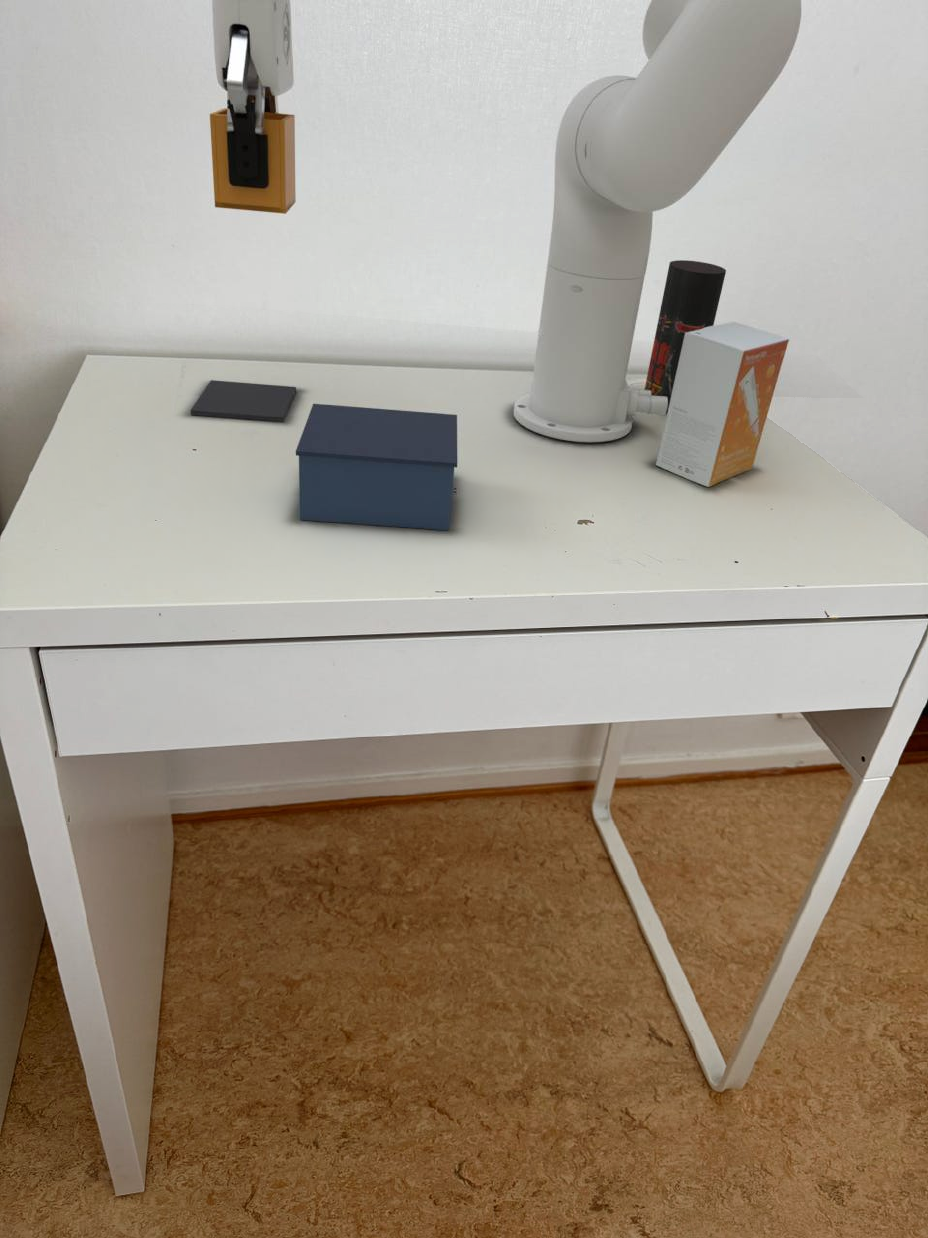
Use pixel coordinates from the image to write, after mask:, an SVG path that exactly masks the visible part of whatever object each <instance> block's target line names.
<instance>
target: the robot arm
mask: <svg viewBox="0 0 928 1238" xmlns="http://www.w3.org/2000/svg"><path fill="white" fill-rule="evenodd" d="M211 4H212V5H211V7H212V8H211V9H212V29H213V50H214V51H213V52H214V63H215V64H214V65H215V73H216V79H217V83H218V85H219V86H220V87H221V88H222V89H223V90H224V91H227V93H226V94H227V95H226V97H227V99H226V108H227V130H228V131H227V150H228V171H229V182H230V184H231V185H232V186H240V187H250V188H261V189H265V188H266V187H267V186H268V185H269V171H268V135H266V134H263V132H264V112H270V113H279V101H278V96H282V95H283V94H286V93H288V92H289V91H290V90H291V89H292V88H293V87H294V79H295V78H294V61H293V60H294V59H293V57H294V56H293V37H292V35H293V33H292V12H291V11H292V10H291V9H292V8H291V0H211ZM801 20H802V0H651V1H650V3H649V5H648V7H647V9H646V11H645V15H644V20H643V26H642V45H643V50H644V53H645V56H646V58H647V59H648V61H647V62H646V63H645V65H644V67H643V68H642V69H641V71H640V72H639V73H638V75H637V77H633V76H628V75H619V74H617V75H607V76H604V77H601V78H598V79H596V80H593V81H592V82H590V83H588V84H586V85H585V86H584V87H583V88H581V89H580V90H579V91H578V92H577V94H575V95H574V97H573V98H572V99H571V101H570V102H569V104H568V106H567V107H566V109H565V110H564V113H563V115H562V117H561V120H560V123H559V127H558V132H557V136H556V143H555V152H554V153H555V154H554V155H555V156H554V189H553V192H554V194H553V209H552V222H551V223H552V224H551V232H550V241H549V248H548V249H549V250H548V256H547V265H546V271H545V279H544V286H543V287H544V288H543V293H542V294H543V295H542V303H541V309H540V318H539V326H538V333H537V341H536V350H535V358H534V365H533V373H532V380H531V381H532V382H531V387H530V392H529V393H527V394H523V395H521V396H519V397H518V398H517V399H516V400H515V401H514V405H513V417H514V418H515V420H516V421H517V422H518V424H520V425H521V426H523V427H524V428H526V429H528V430H530V431H532V432H533V433H537V434H540V435H542V436H545V437H548V438H553V439H555V440H556V439H557V440H561V441H567V442H577V443H604V442H612V441H615V440H619V439H621V438H624V437H626V435H628V434H629V433H630V432H631V430H632V428H633V421H634V418H633V417H634V416H635V415H636V414H637V413H643V414H647V415H655V416H665V415H667V412H666V411H667V406H668V398H667V397H664V396H652V395H651V391H650V390H644V389H631V388H630V386H629V384H628V382H627V380H626V378H627V373H628V367H629V363H630V357H631V352H632V347H633V340H634V335H635V330H636V324H637V320H638V313H639V309H640V303H641V298H642V294H643V293H642V292H643V287H644V281H645V276H646V273H647V267H648V263H649V256H650V249H651V242H652V232H653V231H652V230H653V216H654V215H653V213H654V212H657V211H660V210H664V209H666V208H669V207H670V206H672V205H674V204H675V203H677V202H678V201H680V200H681V199H682V198H684V197H685V196H686V195H687V194H688V193H689V192H690V191H692V189H693V188H694V187H695V186H696V185H697V184H698V183H699V182H700V180H702V179H703V177H704V176H705V175H706V173H707V172H708V171H709V170H710V168H711V167H712V166H713V164H714V163H715V162H716V160H717V159H718V158H719V157H720V156H721V154H722V153H723V151H724V150H725V149H726V148H727V146H728V145H729V144H730V142H731V141H732V140H733V138H734V137H735V136H736V135H737V133H738V132H739V131H740V129H741V128H742V127H743V125H744V124H745V123H746V121H747V120H748V119H749V117H750V116H751V114H752V113H753V112H754V111H755V109H756V108H757V107H758V105H759V104H760V103H761V101H762V100H763V99H764V97H766V95H767V93H768V92H769V91H770V89H771V88H772V86H773V85H774V84H775V82H776V81H777V80H778V78H779V76H780V75H781V74H782V72H783V70H784V68H785V67H786V65H787V63H788V61H789V59H790V56H791V55H792V52H793V49H794V47H795V44H796V41H797V39H798V34H799V31H800V26H801V22H802V21H801ZM254 111H255V112H254Z"/></svg>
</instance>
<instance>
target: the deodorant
mask: <svg viewBox="0 0 928 1238" xmlns="http://www.w3.org/2000/svg"><path fill="white" fill-rule="evenodd" d="M726 275H727V270H726V269H725V267H722V266H720V265H717V264H714V263H713V264H712V263H710V262H709V263H708V262H704V261H697V260H688V259H687V260H686V259H685V260H682V259H681V260H680V259H679V260H671V261H670V262H669V265H668V269H667V274H666V280H665V284H664V290H663V294H662V300H661V304H660V309H659V316H658V320H657V324H656V329H655V335H654V338H653V344H652V345H653V346H652V350H651V353H650V354H651V355H650V359H649V364H648V370H647V375H646V380H645V385H644V389H643V390H650V391H651V395H652V396H664V397H667V398H668V406H667V411H666V413H668V408H669V404H670V399H671V394H672V390H673V385H674V381H675V376H676V372H677V367H678V363H679V358H680V354H681V349H682V345H683V340H684V336H685V333H686V332H691V331H695V330H700V329H703V328H705V327H709V326H715V320H716V317H717V311H718V308H719V303H720V299H721V295H722V290H723V286H724V281H725V278H726Z"/></svg>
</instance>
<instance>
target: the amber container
mask: <svg viewBox="0 0 928 1238" xmlns="http://www.w3.org/2000/svg"><path fill="white" fill-rule="evenodd" d="M254 112H255V111H254ZM295 121H296V120H295V114H289V113H270V112H264V132H263V134H266V135H268V171H269V185H268V186H267V187H266V188H265V189H261V188H250V187H240V186H232V185H231V184H230V182H229V171H228V150H227V131H228V130H227V107H224V108H221V109H219V110H217V111H214V112H211V113H209V125H210V129H209V130H210V146H211V161H212V162H211V164H212V181H213V196H214V197H213V199H214V208H218V209H229V210H241V211H251V212H263V213H273V214H282V215H283V214H284V215H285V214H287V213H288V212H289V211H290V209H291V208H292V207H293V206H294V205H295V204H296V128H295V127H296V125H295V124H296V122H295Z"/></svg>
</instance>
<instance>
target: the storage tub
mask: <svg viewBox="0 0 928 1238" xmlns="http://www.w3.org/2000/svg"><path fill="white" fill-rule="evenodd" d="M295 456H298V491H299V492H298V493H299V495H298V498H299V500H298V501H299V502H298V503H299V520H300V521H311V522H312V521H313V522H325V523H339V524H353V525H367V526H379V527H396V528H410V529H422V530H423V529H424V530H439V531H450V524H451V514H452V513H451V512H452V502H453V491H454V490H453V488H454V476H455V468H456V469H457V468H458V414H453V413H452V414H451V413H439V412H426V411H414V410H401V409H400V410H399V409H388V408H387V409H386V408H374V407H361V406H352V405H351V406H348V405H336V404H325V403H324V404H323V403H313V404H312V406H311V408H310V412H309V414H308V416H307V420H306V423H305V425H304V428H303V430H302V433H301V436H300V439H299V441H298V443H297V446H296V449H295Z"/></svg>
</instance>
